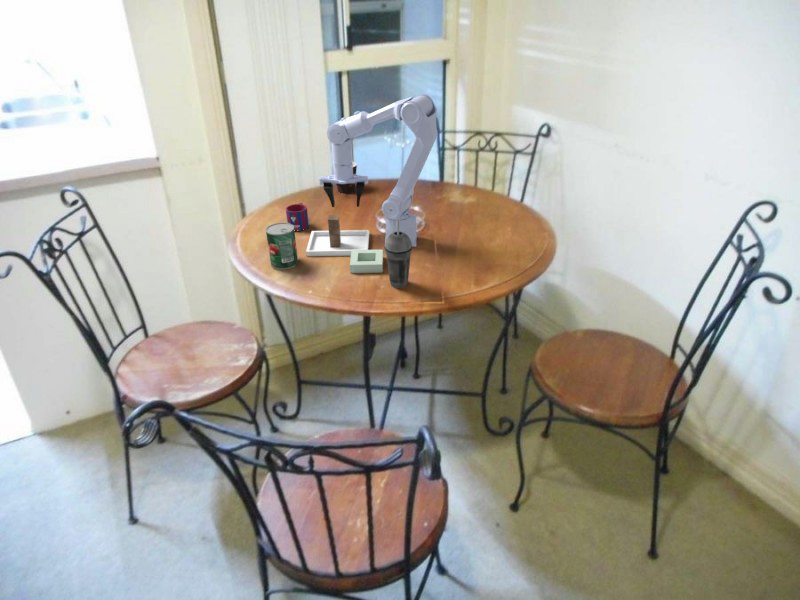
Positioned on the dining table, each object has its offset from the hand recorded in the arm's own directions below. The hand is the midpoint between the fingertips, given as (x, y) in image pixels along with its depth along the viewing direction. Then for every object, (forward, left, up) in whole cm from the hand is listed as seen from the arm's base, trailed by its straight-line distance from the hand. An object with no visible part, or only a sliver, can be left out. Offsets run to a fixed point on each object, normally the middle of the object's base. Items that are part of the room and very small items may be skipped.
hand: (345, 205), depth 175 cm
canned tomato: (+17, +19, -10) cm, 27 cm away
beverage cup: (-16, +33, -10) cm, 38 cm away
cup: (+16, -7, -10) cm, 20 cm away
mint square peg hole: (-7, +22, -9) cm, 25 cm away
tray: (+2, +9, -9) cm, 13 cm away
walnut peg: (+3, +9, -9) cm, 13 cm away
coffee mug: (+4, -36, -10) cm, 37 cm away
